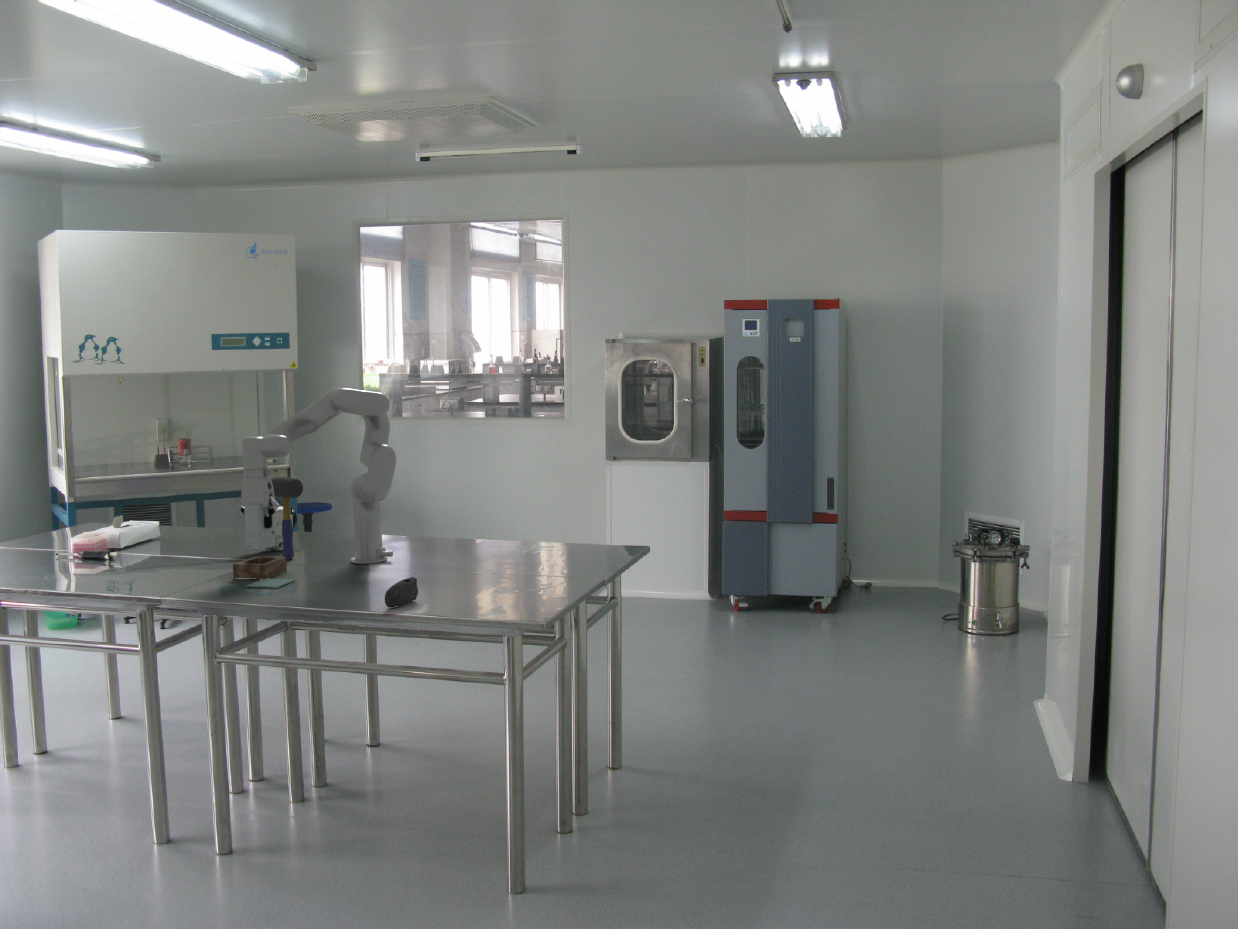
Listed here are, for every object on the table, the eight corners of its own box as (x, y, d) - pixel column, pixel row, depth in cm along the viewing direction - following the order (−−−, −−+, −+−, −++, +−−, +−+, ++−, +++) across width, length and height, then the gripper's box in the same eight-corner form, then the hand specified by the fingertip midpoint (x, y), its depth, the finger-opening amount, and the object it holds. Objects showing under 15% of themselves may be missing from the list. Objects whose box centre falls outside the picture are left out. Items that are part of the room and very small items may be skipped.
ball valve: (261, 555, 369) (259, 507, 367) (247, 553, 374) (245, 506, 372) (301, 547, 384) (299, 502, 382) (286, 545, 389) (284, 500, 387)
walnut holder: (286, 571, 337) (286, 557, 336) (265, 580, 324) (265, 564, 323) (255, 571, 339) (254, 556, 338) (233, 579, 326) (232, 564, 325)
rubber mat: (295, 581, 321) (295, 579, 321) (278, 588, 310) (277, 586, 310) (264, 580, 323) (263, 578, 323) (245, 587, 312) (245, 585, 312)
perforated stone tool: (393, 612, 278) (392, 587, 277) (377, 610, 280) (376, 586, 279) (423, 600, 292) (423, 577, 291) (408, 599, 294) (408, 575, 293)
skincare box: (259, 550, 326) (258, 505, 324) (244, 549, 328) (243, 504, 326) (276, 546, 334) (275, 502, 332) (261, 544, 336) (260, 501, 334)
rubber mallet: (308, 559, 359) (304, 476, 356) (290, 562, 353) (286, 478, 350) (286, 556, 366) (283, 475, 363) (269, 559, 360) (265, 477, 357)
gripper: (285, 472, 330) (288, 526, 331) (240, 472, 334) (243, 525, 336) (272, 475, 322) (275, 530, 324) (226, 475, 327) (229, 529, 328)
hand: (259, 527), depth 330 cm, fingers closed on skincare box, 6 cm apart
